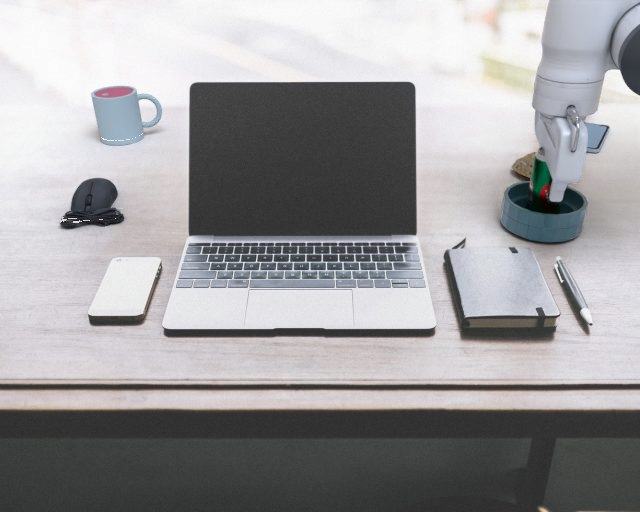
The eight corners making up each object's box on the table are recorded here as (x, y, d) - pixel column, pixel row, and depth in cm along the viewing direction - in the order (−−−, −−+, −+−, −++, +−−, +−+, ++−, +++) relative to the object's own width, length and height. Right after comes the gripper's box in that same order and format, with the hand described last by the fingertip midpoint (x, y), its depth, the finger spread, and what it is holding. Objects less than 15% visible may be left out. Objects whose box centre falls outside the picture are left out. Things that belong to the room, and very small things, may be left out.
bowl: (573, 210, 102) (579, 182, 99) (588, 248, 91) (595, 218, 89) (496, 206, 103) (500, 178, 101) (503, 242, 93) (508, 213, 91)
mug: (99, 147, 129) (89, 100, 124) (101, 132, 137) (92, 87, 132) (166, 141, 132) (159, 94, 127) (165, 126, 140) (158, 82, 134)
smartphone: (560, 144, 124) (574, 120, 135) (559, 148, 125) (574, 124, 136) (599, 150, 121) (611, 125, 132) (598, 154, 122) (610, 129, 133)
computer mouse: (131, 186, 112) (127, 167, 110) (124, 224, 100) (120, 203, 98) (73, 192, 111) (68, 172, 109) (59, 230, 99) (53, 209, 97)
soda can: (527, 212, 100) (540, 142, 94) (560, 219, 98) (575, 147, 92) (519, 225, 96) (531, 153, 90) (552, 233, 94) (568, 159, 88)
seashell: (506, 154, 117) (549, 139, 114) (514, 179, 119) (556, 165, 117) (514, 171, 110) (560, 156, 107) (522, 198, 112) (567, 183, 110)
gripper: (606, 121, 77) (585, 219, 85) (576, 76, 95) (560, 160, 102) (554, 119, 78) (537, 216, 86) (533, 75, 95) (520, 159, 103)
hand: (549, 185), depth 94 cm, fingers open, 8 cm apart
